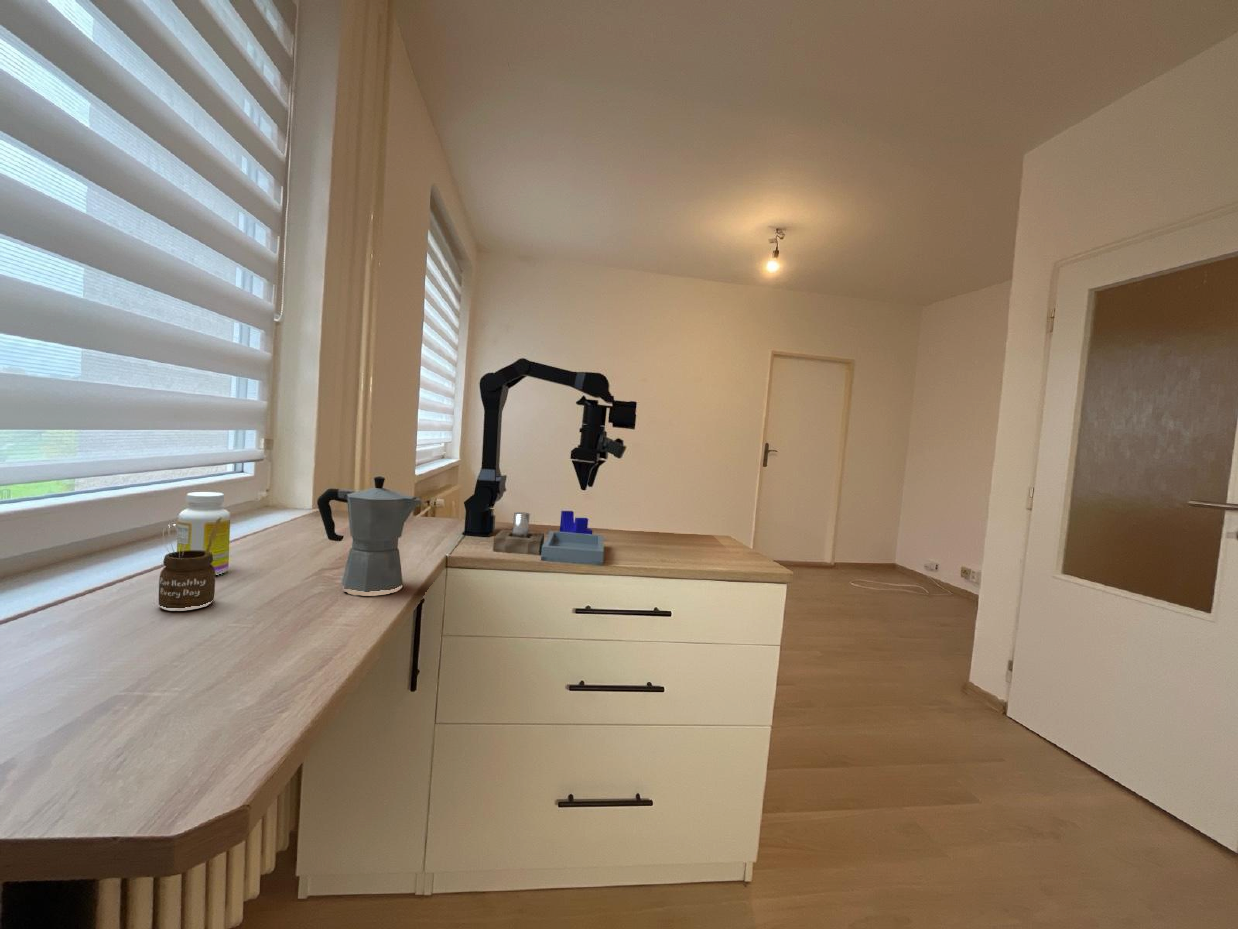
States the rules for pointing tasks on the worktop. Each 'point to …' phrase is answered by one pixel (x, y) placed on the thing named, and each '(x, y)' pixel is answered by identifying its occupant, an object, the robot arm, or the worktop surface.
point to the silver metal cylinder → (521, 524)
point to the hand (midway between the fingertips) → (587, 488)
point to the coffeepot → (370, 534)
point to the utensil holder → (187, 575)
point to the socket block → (518, 542)
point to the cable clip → (573, 523)
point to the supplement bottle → (205, 527)
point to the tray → (573, 548)
